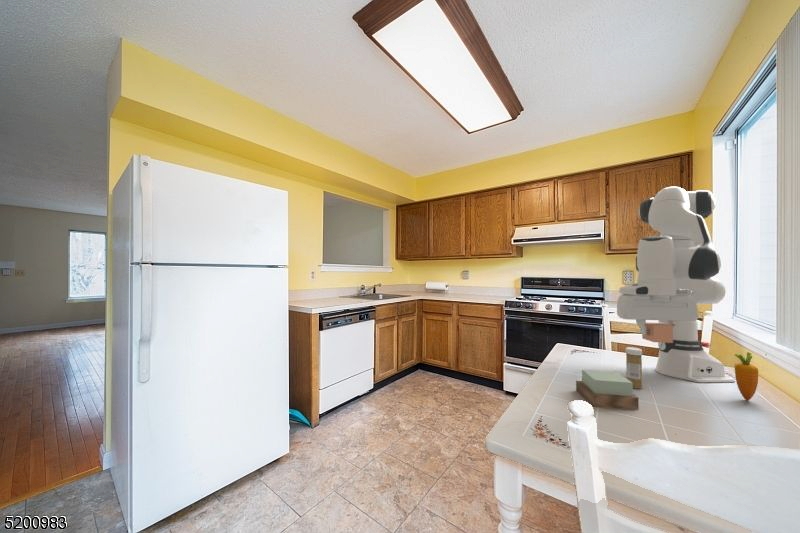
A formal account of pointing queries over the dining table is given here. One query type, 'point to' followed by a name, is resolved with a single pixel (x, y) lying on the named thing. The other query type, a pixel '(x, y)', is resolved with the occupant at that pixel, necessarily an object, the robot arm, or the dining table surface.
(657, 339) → the terracotta block
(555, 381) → the dining table surface
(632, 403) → the tower base
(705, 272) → the robot arm
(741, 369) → the carrot
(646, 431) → the dining table surface
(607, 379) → the tower top
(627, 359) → the sprinkles bottle
